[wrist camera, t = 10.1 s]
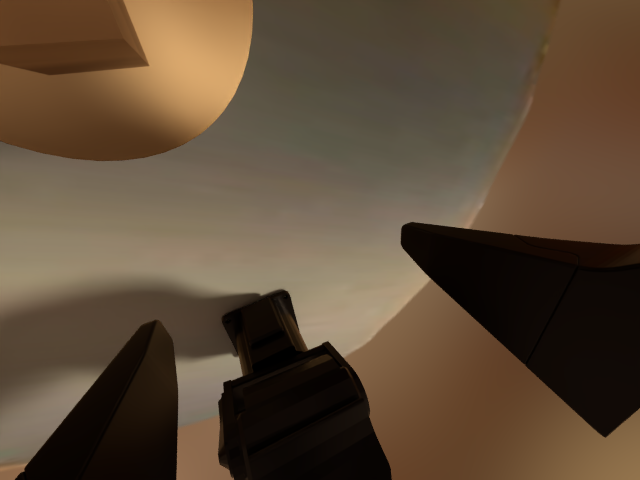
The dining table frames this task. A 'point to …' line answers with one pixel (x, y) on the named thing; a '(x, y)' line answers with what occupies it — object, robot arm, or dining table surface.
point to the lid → (117, 73)
